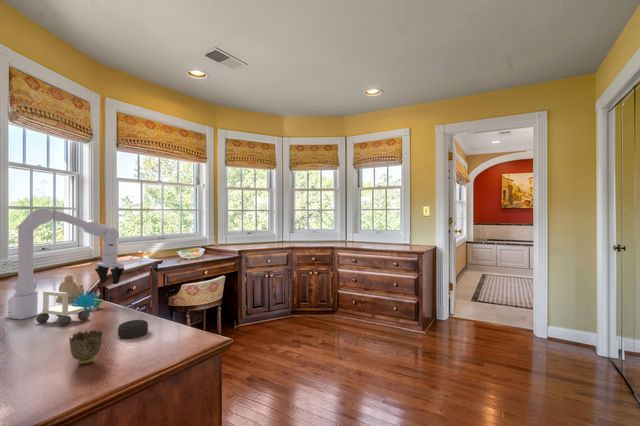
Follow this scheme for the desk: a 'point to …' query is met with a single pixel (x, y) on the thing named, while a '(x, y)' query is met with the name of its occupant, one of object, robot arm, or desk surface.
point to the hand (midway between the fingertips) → (109, 283)
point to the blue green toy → (87, 301)
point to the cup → (85, 346)
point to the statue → (70, 289)
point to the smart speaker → (132, 329)
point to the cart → (60, 309)
